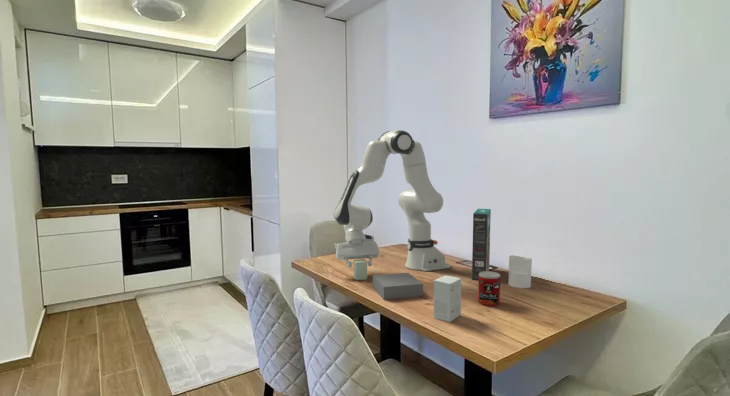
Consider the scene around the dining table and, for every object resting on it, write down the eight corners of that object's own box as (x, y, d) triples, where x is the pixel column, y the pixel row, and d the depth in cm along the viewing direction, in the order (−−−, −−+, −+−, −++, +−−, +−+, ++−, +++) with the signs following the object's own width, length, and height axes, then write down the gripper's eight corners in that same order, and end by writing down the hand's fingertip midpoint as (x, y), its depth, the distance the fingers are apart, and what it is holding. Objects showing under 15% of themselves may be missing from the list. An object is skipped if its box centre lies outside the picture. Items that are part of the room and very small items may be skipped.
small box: (444, 310, 134) (445, 274, 133) (461, 315, 130) (461, 278, 128) (432, 317, 127) (433, 280, 126) (450, 322, 123) (450, 283, 122)
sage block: (364, 276, 176) (364, 259, 176) (366, 279, 172) (366, 262, 171) (353, 277, 175) (353, 260, 174) (356, 280, 170) (356, 262, 170)
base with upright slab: (534, 284, 163) (534, 257, 162) (526, 289, 157) (527, 261, 156) (513, 280, 169) (513, 254, 168) (504, 285, 163) (505, 257, 162)
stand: (408, 284, 164) (408, 272, 164) (422, 296, 149) (422, 283, 148) (372, 287, 160) (372, 275, 160) (383, 299, 145) (383, 287, 144)
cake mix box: (485, 281, 168) (487, 214, 166) (471, 279, 171) (473, 213, 168) (489, 268, 189) (490, 209, 186) (476, 267, 191) (478, 208, 188)
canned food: (477, 305, 139) (477, 275, 138) (479, 298, 147) (479, 270, 146) (499, 307, 136) (499, 278, 135) (500, 300, 144) (500, 272, 143)
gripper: (334, 238, 177) (338, 263, 168) (376, 236, 182) (382, 260, 173) (333, 245, 181) (336, 271, 173) (374, 243, 186) (379, 268, 178)
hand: (360, 265), depth 173 cm, fingers open, 8 cm apart
